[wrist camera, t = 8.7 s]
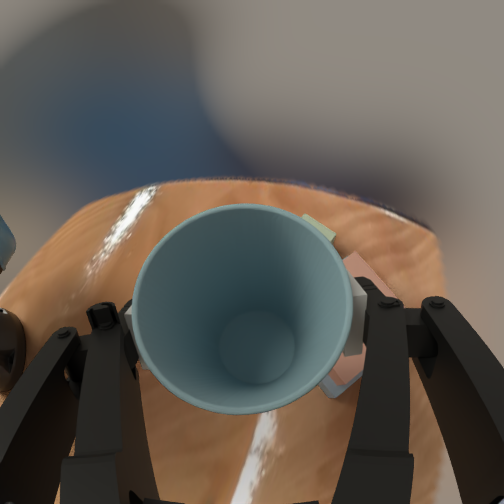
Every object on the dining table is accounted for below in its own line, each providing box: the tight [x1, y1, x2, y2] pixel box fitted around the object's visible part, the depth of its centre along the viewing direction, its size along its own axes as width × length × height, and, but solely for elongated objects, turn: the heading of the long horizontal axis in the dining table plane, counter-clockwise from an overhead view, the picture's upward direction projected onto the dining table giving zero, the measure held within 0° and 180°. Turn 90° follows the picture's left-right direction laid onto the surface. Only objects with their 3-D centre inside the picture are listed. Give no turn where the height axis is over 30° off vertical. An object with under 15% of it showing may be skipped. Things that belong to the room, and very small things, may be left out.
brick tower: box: [318, 251, 405, 398], centre depth 31 cm, size 12×12×8 cm
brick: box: [301, 214, 336, 245], centre depth 38 cm, size 5×5×4 cm
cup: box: [132, 204, 353, 415], centre depth 14 cm, size 8×8×10 cm
